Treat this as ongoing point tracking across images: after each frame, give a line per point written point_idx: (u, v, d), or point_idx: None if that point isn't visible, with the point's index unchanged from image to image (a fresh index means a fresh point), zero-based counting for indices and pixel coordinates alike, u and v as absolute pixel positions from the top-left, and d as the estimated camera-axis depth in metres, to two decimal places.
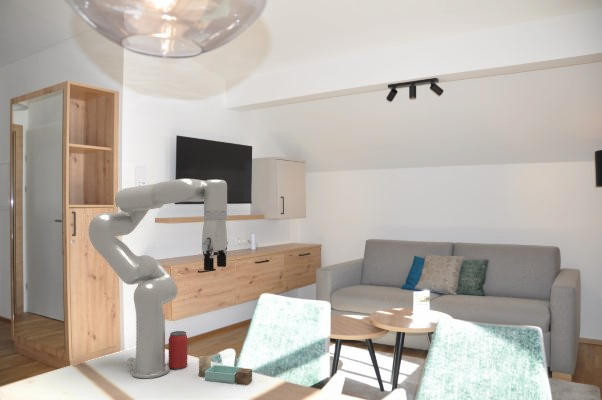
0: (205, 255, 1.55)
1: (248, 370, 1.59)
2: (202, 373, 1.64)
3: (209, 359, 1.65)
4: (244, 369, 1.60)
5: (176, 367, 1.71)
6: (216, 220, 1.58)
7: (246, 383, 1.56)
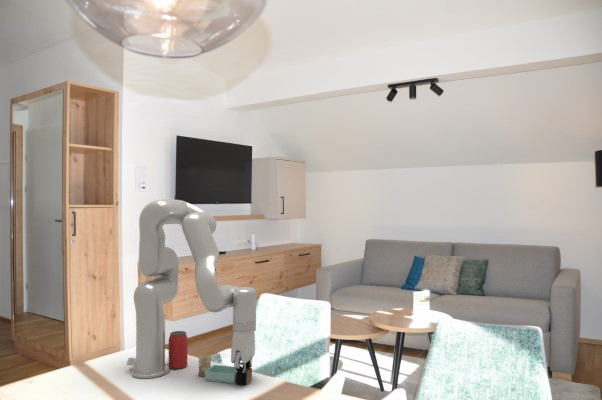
0: (238, 371, 1.55)
1: (248, 370, 1.59)
2: (202, 373, 1.64)
3: (209, 359, 1.65)
4: None
5: (176, 367, 1.71)
6: (246, 332, 1.55)
7: None
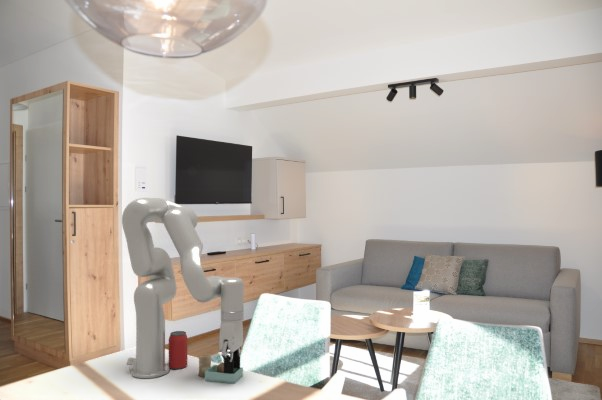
0: (225, 359, 1.57)
1: None
2: (202, 373, 1.64)
3: (209, 359, 1.65)
4: None
5: (176, 367, 1.71)
6: (233, 321, 1.58)
7: None
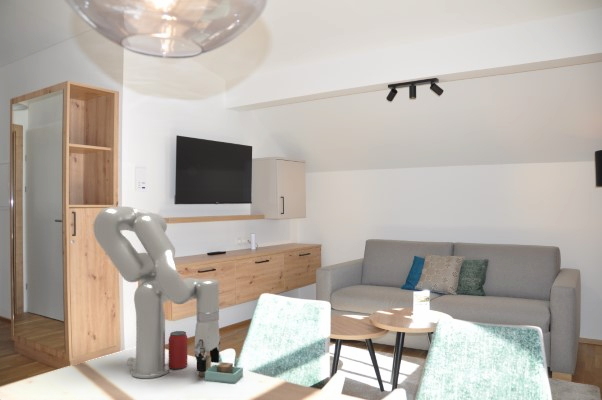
0: (197, 357, 1.59)
1: None
2: (202, 373, 1.64)
3: (209, 359, 1.65)
4: None
5: (176, 367, 1.71)
6: (208, 321, 1.62)
7: (226, 368, 1.60)
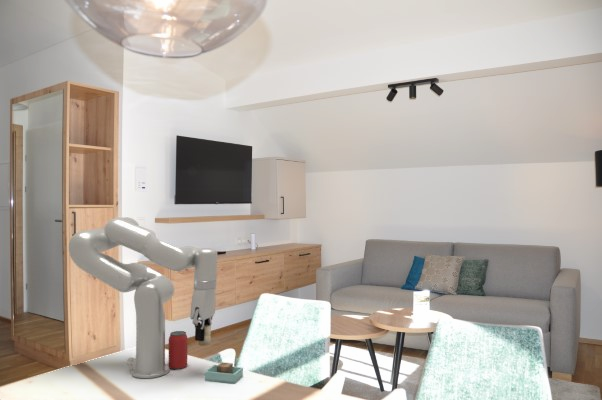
0: (196, 327, 1.62)
1: None
2: (202, 341, 1.64)
3: (209, 328, 1.65)
4: None
5: (176, 367, 1.71)
6: (205, 290, 1.62)
7: (226, 368, 1.60)
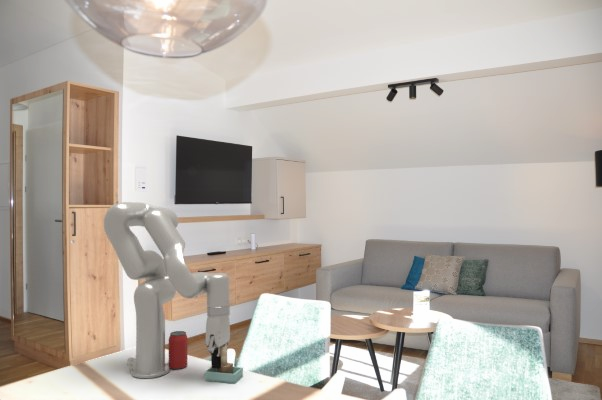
0: (212, 354, 1.59)
1: None
2: None
3: (225, 348, 1.62)
4: None
5: (176, 367, 1.71)
6: (219, 316, 1.59)
7: (226, 368, 1.60)
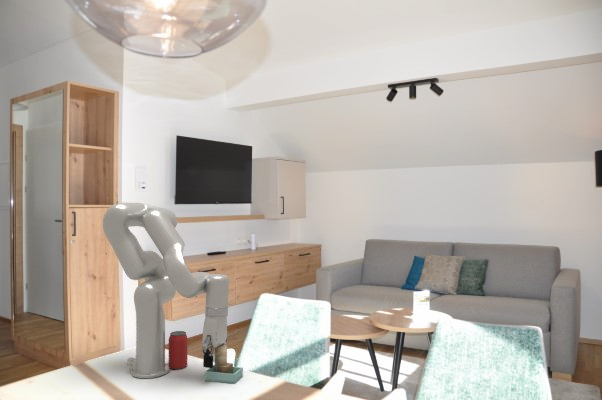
0: (205, 353, 1.57)
1: None
2: (219, 362, 1.60)
3: (225, 348, 1.62)
4: None
5: (176, 367, 1.71)
6: (217, 317, 1.60)
7: (226, 368, 1.60)
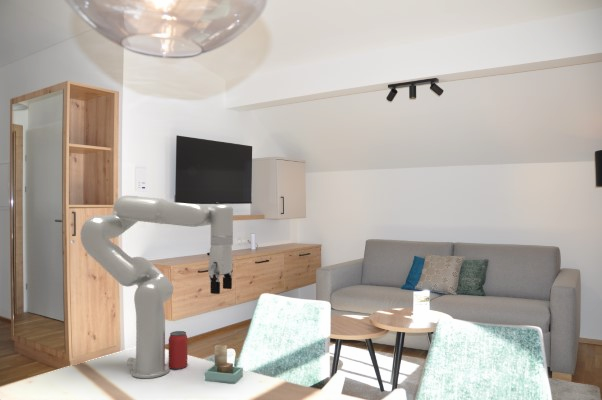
0: (212, 279, 1.60)
1: None
2: (219, 362, 1.60)
3: (225, 348, 1.62)
4: None
5: (176, 367, 1.71)
6: (222, 245, 1.63)
7: (226, 368, 1.60)
